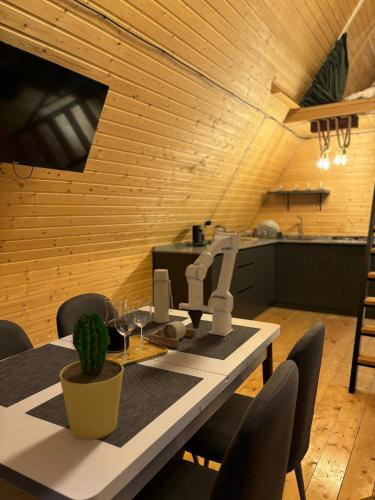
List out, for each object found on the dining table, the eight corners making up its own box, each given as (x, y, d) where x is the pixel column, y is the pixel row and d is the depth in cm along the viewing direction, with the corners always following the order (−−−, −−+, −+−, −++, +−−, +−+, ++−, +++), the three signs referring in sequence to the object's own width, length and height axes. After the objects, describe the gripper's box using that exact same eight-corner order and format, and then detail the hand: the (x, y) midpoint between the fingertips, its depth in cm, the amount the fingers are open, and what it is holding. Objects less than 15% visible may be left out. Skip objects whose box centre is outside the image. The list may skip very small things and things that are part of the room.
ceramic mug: (187, 338, 162) (187, 320, 161) (177, 344, 155) (176, 325, 154) (166, 334, 168) (166, 317, 167) (155, 339, 161) (155, 321, 160)
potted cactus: (132, 412, 103) (130, 303, 100) (112, 448, 88) (108, 320, 85) (78, 408, 106) (74, 301, 102) (50, 441, 91) (44, 317, 87)
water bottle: (152, 323, 183) (151, 271, 180) (156, 318, 190) (155, 268, 188) (171, 324, 181) (170, 271, 178) (174, 319, 189) (173, 269, 186)
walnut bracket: (167, 331, 171) (167, 325, 170) (195, 336, 164) (195, 329, 164) (148, 342, 158) (148, 334, 157) (177, 347, 151) (177, 340, 150)
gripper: (174, 295, 153) (175, 328, 155) (207, 299, 146) (207, 333, 148) (183, 291, 159) (184, 323, 161) (215, 295, 152) (215, 328, 154)
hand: (196, 327), depth 155 cm, fingers closed
